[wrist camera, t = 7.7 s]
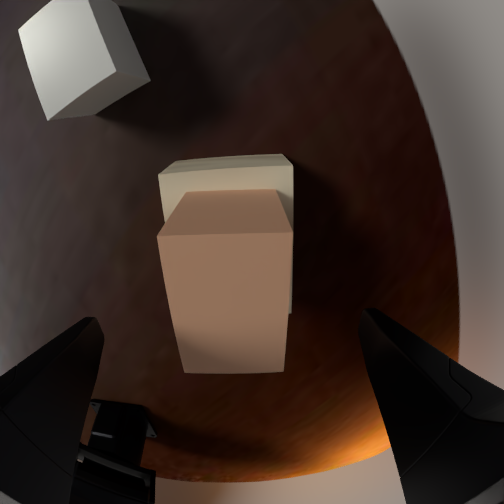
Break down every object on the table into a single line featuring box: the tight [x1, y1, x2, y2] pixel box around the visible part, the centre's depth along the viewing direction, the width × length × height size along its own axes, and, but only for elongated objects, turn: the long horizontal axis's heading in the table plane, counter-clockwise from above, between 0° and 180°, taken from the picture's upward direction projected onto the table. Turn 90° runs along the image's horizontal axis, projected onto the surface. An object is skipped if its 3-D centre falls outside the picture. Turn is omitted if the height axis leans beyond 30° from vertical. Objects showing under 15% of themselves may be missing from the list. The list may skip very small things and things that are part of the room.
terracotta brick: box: [157, 189, 293, 373], centre depth 12 cm, size 6×4×5 cm, turn 1°
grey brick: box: [18, 0, 151, 121], centre depth 11 cm, size 6×4×5 cm, turn 22°
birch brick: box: [158, 154, 293, 313], centre depth 16 cm, size 8×6×4 cm
